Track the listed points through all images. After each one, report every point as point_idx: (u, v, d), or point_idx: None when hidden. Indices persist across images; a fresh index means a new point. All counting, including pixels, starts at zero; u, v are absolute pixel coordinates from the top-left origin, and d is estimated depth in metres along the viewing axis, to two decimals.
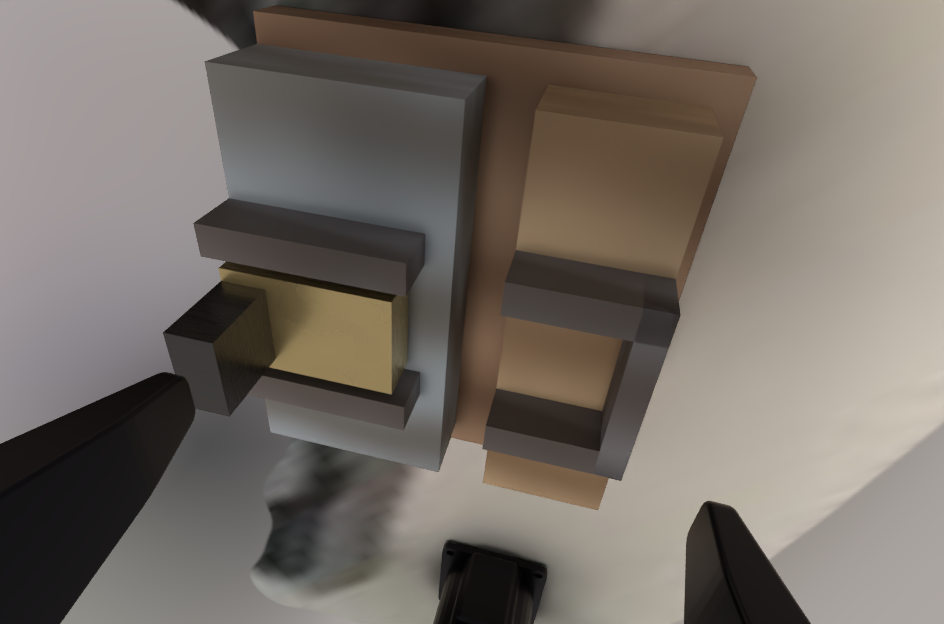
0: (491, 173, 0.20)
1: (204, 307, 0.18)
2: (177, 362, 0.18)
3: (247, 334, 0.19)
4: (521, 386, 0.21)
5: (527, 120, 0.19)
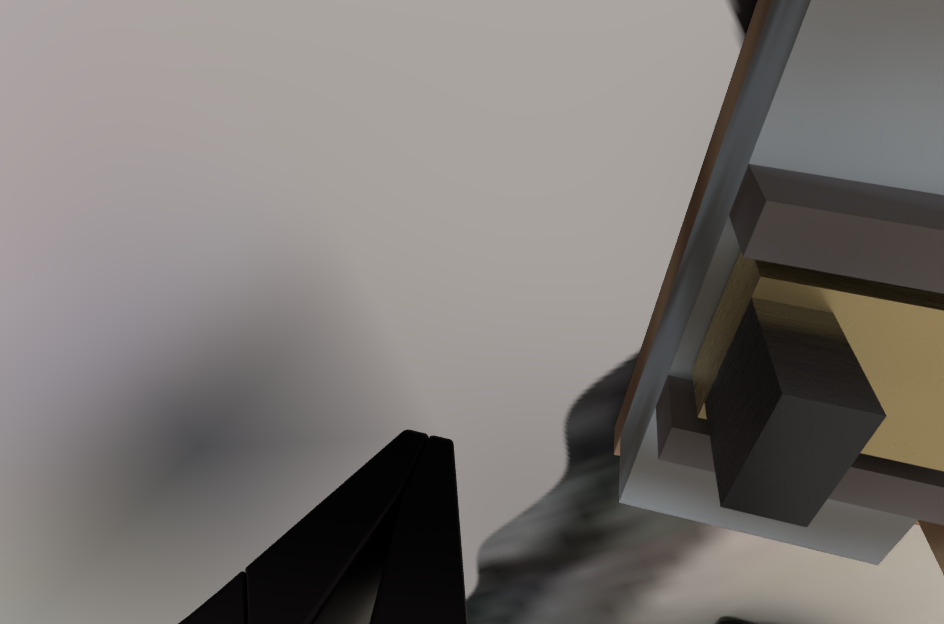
0: None
1: (787, 345, 0.11)
2: (770, 442, 0.10)
3: None
4: None
5: None
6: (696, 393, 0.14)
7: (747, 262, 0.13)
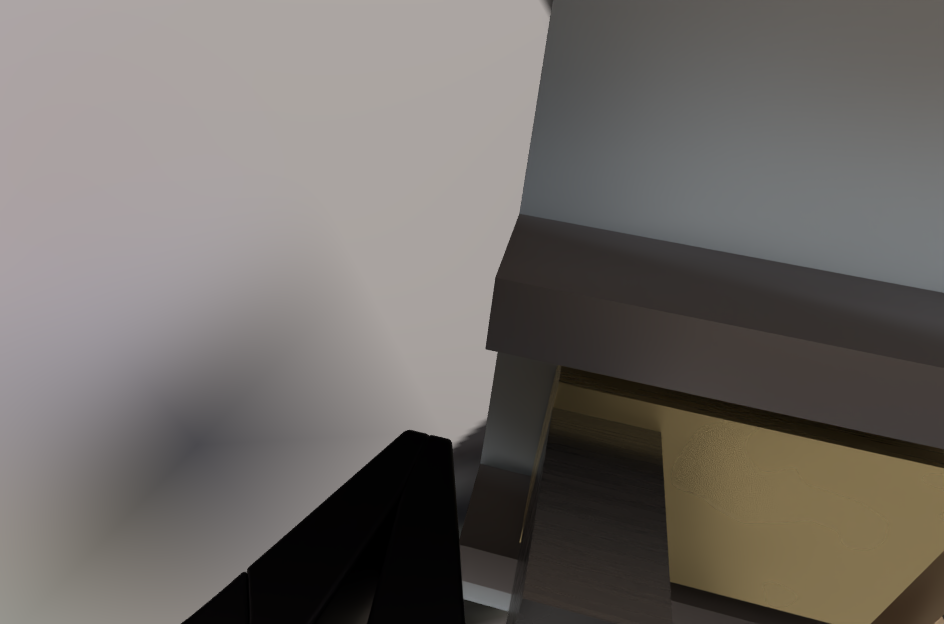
0: None
1: (569, 496, 0.07)
2: None
3: None
4: None
5: None
6: (526, 505, 0.11)
7: None
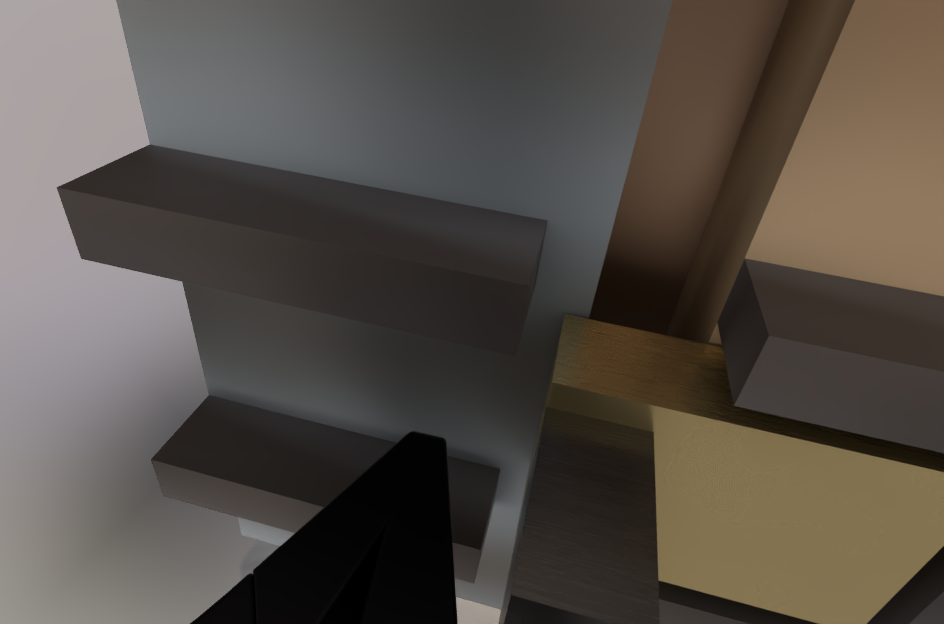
0: (658, 108, 0.11)
1: (560, 495, 0.07)
2: None
3: None
4: None
5: None
6: (521, 505, 0.11)
7: (556, 353, 0.09)
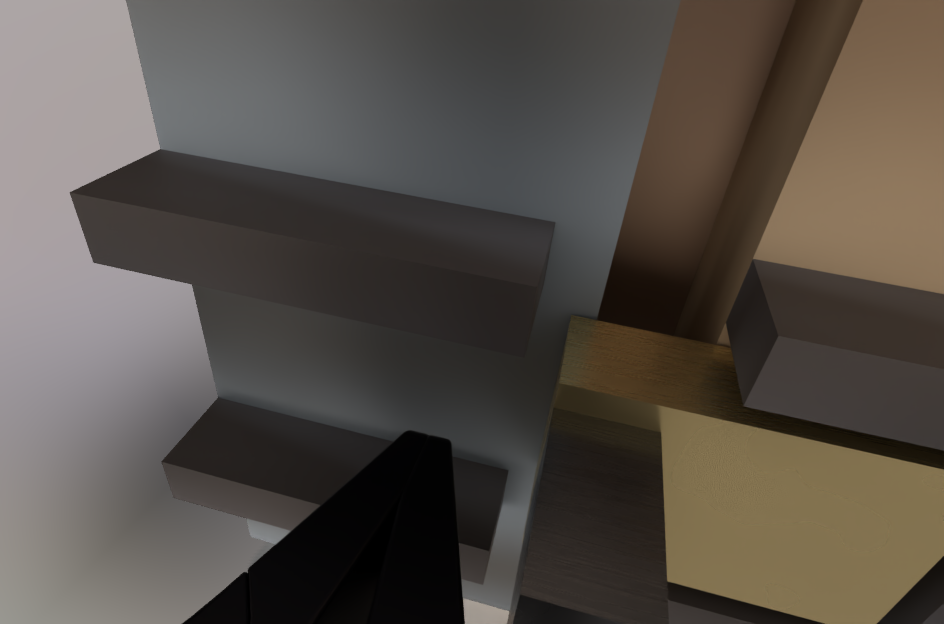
0: (665, 110, 0.11)
1: (568, 495, 0.07)
2: None
3: None
4: None
5: None
6: (529, 505, 0.11)
7: (563, 353, 0.09)
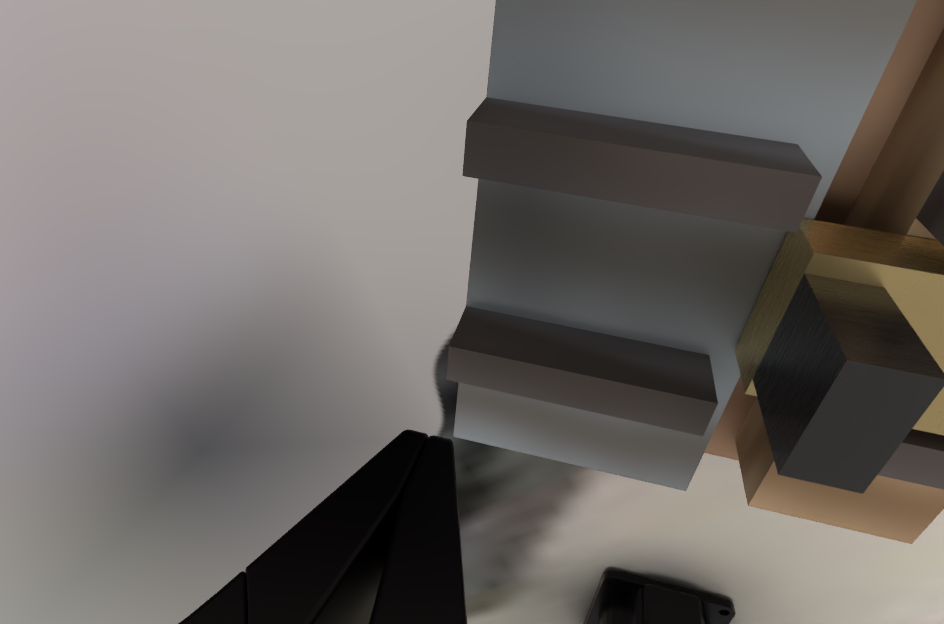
0: None
1: (844, 316, 0.11)
2: (832, 408, 0.10)
3: None
4: None
5: None
6: (742, 371, 0.15)
7: (797, 241, 0.13)
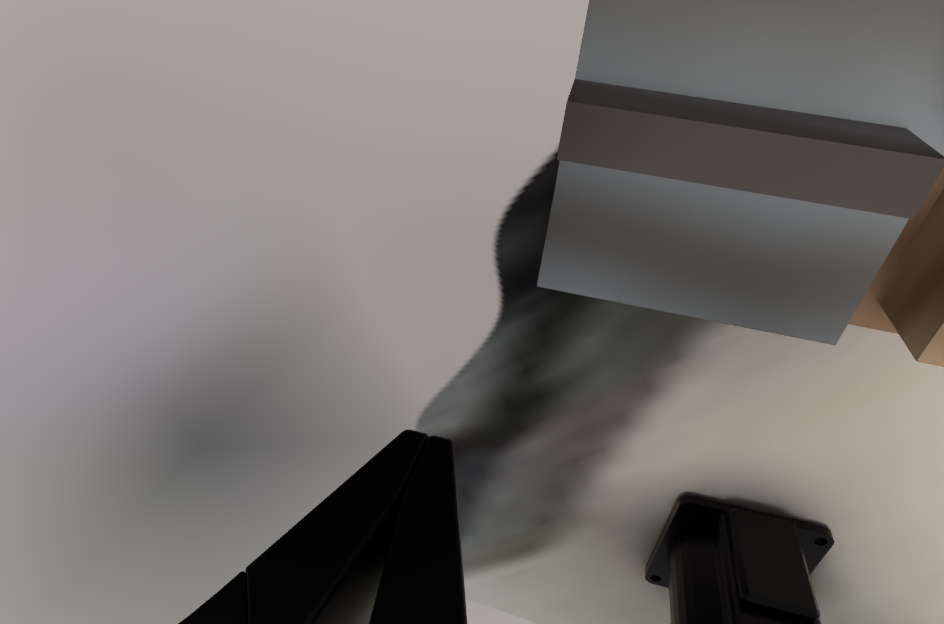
0: None
1: None
2: None
3: None
4: None
5: None
6: None
7: None
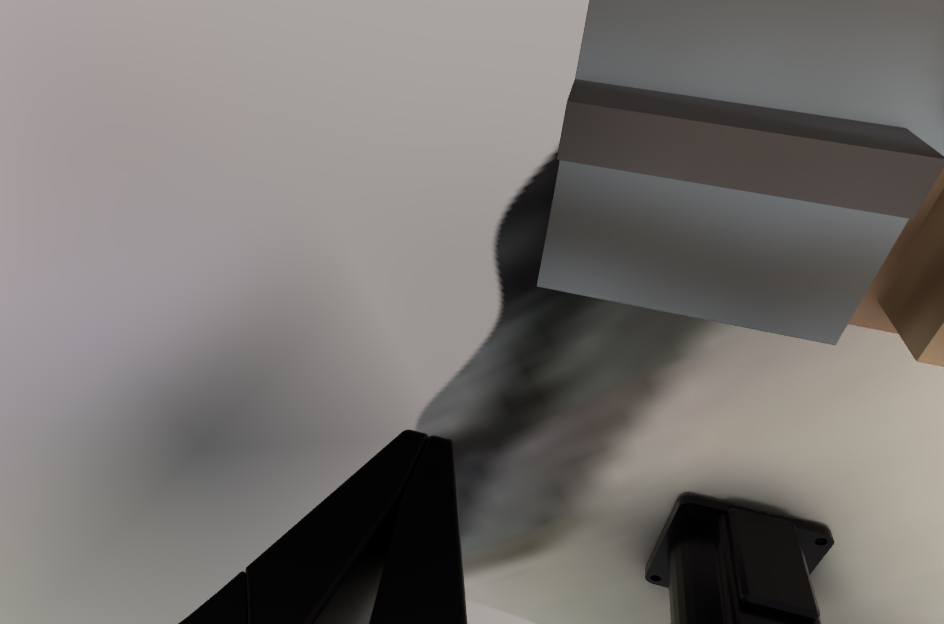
0: None
1: None
2: None
3: None
4: None
5: None
6: None
7: None
